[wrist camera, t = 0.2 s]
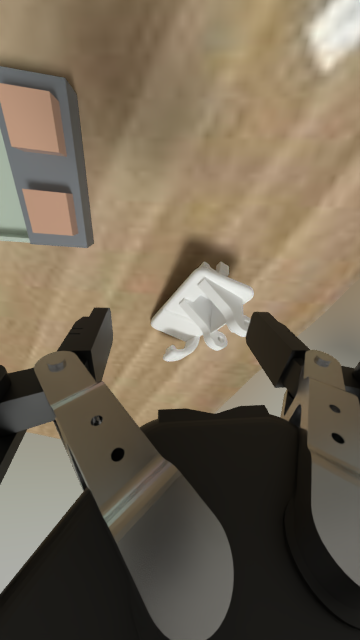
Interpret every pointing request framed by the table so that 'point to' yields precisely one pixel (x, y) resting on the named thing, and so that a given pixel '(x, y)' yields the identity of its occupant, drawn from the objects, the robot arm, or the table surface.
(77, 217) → the grey flat block
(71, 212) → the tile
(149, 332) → the table surface
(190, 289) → the tape dispenser
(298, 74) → the table surface
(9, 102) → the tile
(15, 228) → the tray
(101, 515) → the robot arm
